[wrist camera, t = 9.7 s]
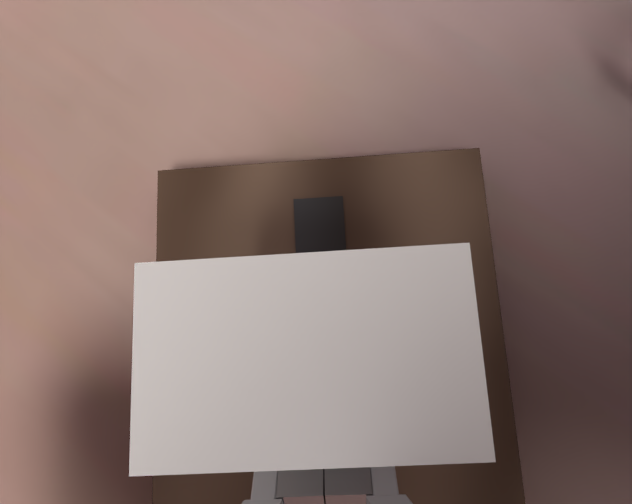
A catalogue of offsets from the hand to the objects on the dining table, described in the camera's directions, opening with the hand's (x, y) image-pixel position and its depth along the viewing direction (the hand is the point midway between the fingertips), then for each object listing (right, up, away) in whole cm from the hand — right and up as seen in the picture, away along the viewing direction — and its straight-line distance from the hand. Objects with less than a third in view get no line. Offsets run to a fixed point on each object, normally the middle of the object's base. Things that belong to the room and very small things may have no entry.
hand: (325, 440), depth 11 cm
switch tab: (0, +1, +4) cm, 5 cm away
